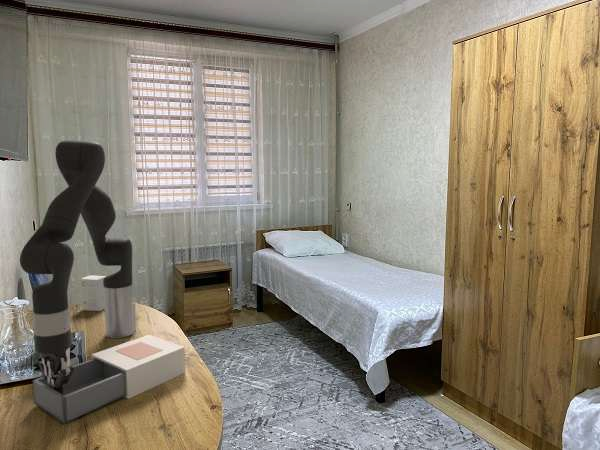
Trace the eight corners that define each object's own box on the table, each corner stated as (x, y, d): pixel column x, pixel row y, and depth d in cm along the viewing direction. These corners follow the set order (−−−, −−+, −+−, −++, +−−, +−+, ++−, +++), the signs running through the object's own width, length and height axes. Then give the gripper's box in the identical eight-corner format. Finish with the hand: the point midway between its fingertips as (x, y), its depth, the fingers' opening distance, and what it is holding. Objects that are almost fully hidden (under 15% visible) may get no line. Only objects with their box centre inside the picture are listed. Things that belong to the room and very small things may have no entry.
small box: (109, 306, 186) (107, 275, 185) (99, 311, 180) (97, 279, 179) (92, 305, 188) (90, 274, 186) (81, 310, 182) (79, 278, 180)
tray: (64, 423, 101) (62, 398, 100) (34, 403, 109) (32, 380, 108) (135, 391, 115) (134, 369, 114) (104, 376, 123) (102, 355, 123)
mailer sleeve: (128, 398, 113) (126, 369, 112) (93, 381, 122) (91, 354, 121) (185, 372, 127) (184, 346, 126) (150, 358, 136) (149, 334, 135)
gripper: (83, 330, 103) (87, 401, 106) (54, 318, 111) (59, 385, 113) (49, 340, 97) (54, 416, 99) (21, 327, 105) (27, 397, 107)
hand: (57, 399), depth 106 cm, fingers closed
